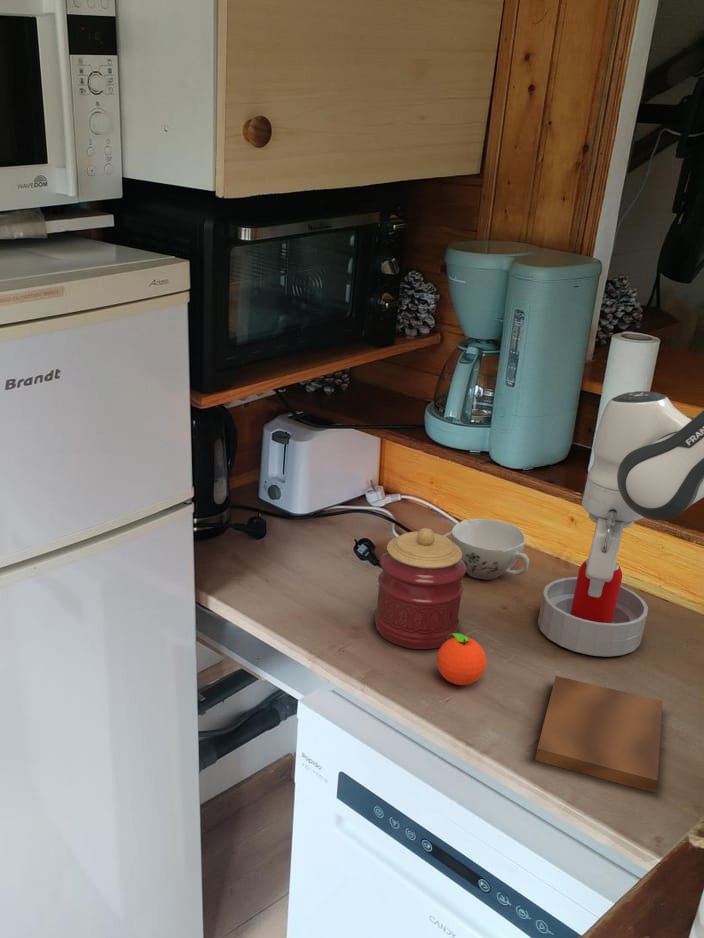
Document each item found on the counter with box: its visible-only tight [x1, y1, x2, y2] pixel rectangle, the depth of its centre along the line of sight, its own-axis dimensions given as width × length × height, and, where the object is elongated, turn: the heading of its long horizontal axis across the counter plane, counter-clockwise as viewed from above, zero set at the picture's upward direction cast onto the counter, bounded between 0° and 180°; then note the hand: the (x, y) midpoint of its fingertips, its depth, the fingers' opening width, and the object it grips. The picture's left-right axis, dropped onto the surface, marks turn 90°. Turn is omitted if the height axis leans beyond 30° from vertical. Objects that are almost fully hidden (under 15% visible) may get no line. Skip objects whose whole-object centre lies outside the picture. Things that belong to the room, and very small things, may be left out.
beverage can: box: [570, 558, 623, 623], centre depth 141 cm, size 6×6×12 cm
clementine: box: [436, 632, 487, 686], centre depth 130 cm, size 8×7×7 cm
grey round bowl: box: [537, 576, 649, 658], centre depth 142 cm, size 15×15×6 cm
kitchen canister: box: [374, 527, 467, 650], centre depth 140 cm, size 13×13×18 cm
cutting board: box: [534, 675, 663, 794], centre depth 119 cm, size 14×18×2 cm
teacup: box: [451, 517, 530, 581], centre depth 159 cm, size 15×12×8 cm
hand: (597, 581), depth 139 cm, fingers open, 8 cm apart
